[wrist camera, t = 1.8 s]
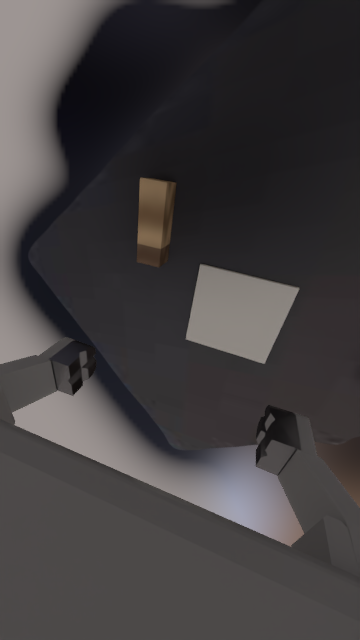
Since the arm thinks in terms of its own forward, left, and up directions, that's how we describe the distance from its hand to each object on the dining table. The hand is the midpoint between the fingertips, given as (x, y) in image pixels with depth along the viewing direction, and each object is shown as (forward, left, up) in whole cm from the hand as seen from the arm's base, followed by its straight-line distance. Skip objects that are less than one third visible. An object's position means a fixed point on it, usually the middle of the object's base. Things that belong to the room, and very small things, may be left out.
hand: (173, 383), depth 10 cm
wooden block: (-1, -13, -31) cm, 33 cm away
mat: (+12, +3, -31) cm, 33 cm away
